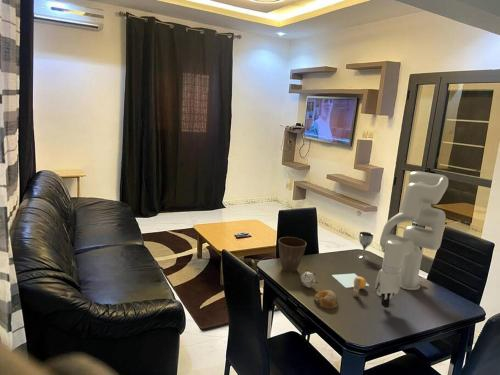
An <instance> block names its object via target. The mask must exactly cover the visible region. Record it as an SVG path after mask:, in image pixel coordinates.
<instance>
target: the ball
mask: <svg viewBox="0 0 500 375" xmlns="http://www.w3.org/2000/svg"><path fill="white" fill-rule="evenodd" d="M358 277H359V278H361V281H360V288H359V290H363V289H365V288H366V287H367V286H366V283H367V280H366V278H364V277H362V276H358ZM354 282H355V279H354Z"/></svg>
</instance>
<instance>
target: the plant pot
mask: <svg viewBox="0 0 500 375" xmlns="http://www.w3.org/2000/svg"><path fill="white" fill-rule="evenodd" d="M306 247H307V242H306V241H305V240H303V239H301V238H298V237H293V236H284V237H283V236H282V237H280V238H279V239H278V254H279V260H280V265H281V269H282V271H284V272H286V273H295V272H296V271H297V270H298V268H299V266H300V264H301V262H302V260H303V257H304V254H305V251H306Z"/></svg>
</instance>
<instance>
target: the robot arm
mask: <svg viewBox="0 0 500 375" xmlns="http://www.w3.org/2000/svg"><path fill="white" fill-rule="evenodd" d="M408 182H409V183H408V184H407V186H406V189H405V192H404V196H403V198H402V202H401V204H400V208H399V211H398V213H396V214H395V215H394V216H392V217H390V218H389V219H388V220H387V222H386V223H385V224H384V226H383V229H382V233H381V235H380V239H379V246H380V248H382V249H384V252H383V259H382V265H381V269H379V271H378V272H377V273H378V274H377V277H376V280H375V284H374V289H375V294H376V295H377V296H380V297H381V303H380V304H381V306H382V307H383V308H384V309H386V308H387V309H389V307H390V302H391V301H390V300H392V299H393V297H394V295H397V294H398V293H399V292H400V290H401V289H404V290H408V291H417V290H420V288H421V285H420V283H421V282H422V283H423V282H425V280H426V278H424V277H420V269H421V264H422V259H423V253H422V249H421V248H424V249H425V250H426V249H427V250H430V251H437V250H439V248H440V247H441V245H442V240H443V234H444V230H445V224H446V217H447V216H446V213H445V211H444V210H442V209H440V208H436V207H435V208H434V207H432V205H437V204H438V203H439V202H440V201H441V200H442V198H443V196H444V194H445V193H446V190H447V189H448V186H449V178H448V177H447V176H446V175H444V174H438V173H431V172H428V171H427V172H426V171H419V170H417V171H416V170H415V171H411V172H410V173H409V176H408ZM403 222H411V223H413V224H416V225H408V226H406V227H405V228H404V230H403V234H402V236H400V235H397V234H396V235H395V234H393V233H391V231H392V229H393V228H394V227H395V226H397V225H398V224H401V223H403ZM417 225H419V226H417ZM421 226H424V227H421ZM425 227H427V228H425ZM429 228H431V229H429ZM376 290H377V292H376Z"/></svg>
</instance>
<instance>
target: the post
mask: <svg viewBox="0 0 500 375" xmlns="http://www.w3.org/2000/svg"><path fill="white" fill-rule="evenodd" d="M359 277H360V276H358V277H355V282H354V287H353V291H352V297H354V298H358V297H359V294H360V289H359V288H360V281H361V278H359Z"/></svg>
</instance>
